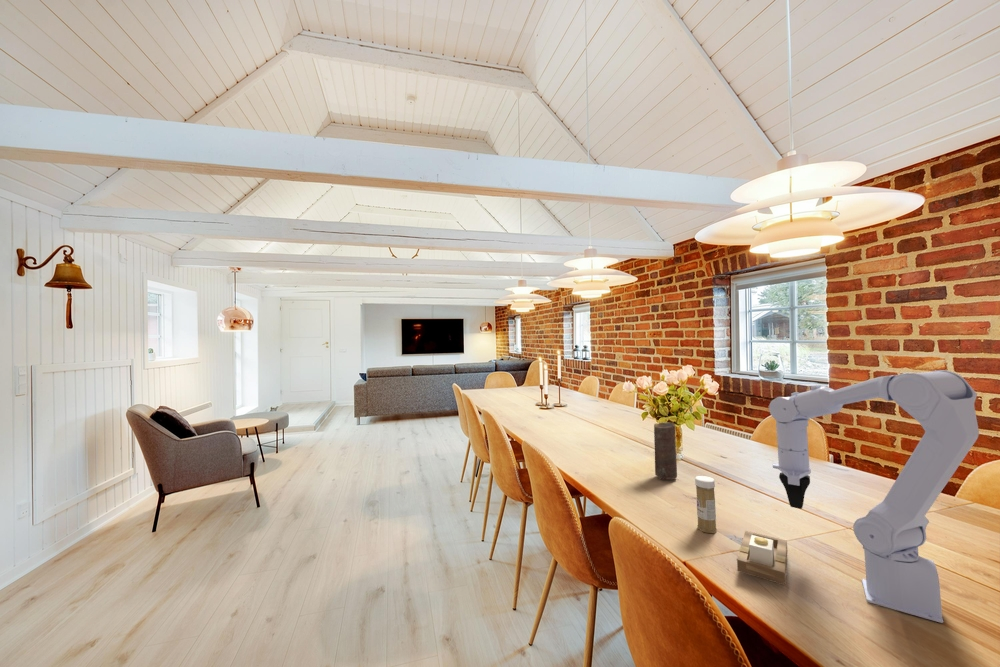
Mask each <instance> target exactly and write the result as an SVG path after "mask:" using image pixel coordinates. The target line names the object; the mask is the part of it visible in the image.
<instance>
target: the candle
mask: <svg viewBox="0 0 1000 667" xmlns="http://www.w3.org/2000/svg"><path fill="white" fill-rule="evenodd" d="M653 429H654V430H653V433H654V434H653V436H654V440H653V441H654V442H653V443H654V475H655V476H656V477H658V479H660V480H674V479H677V478H678V468H677V467H678V462H677V443H676V442H677V441H676V438H677V437H676V424H675V423H674V422H668V421H665V422H659V423H654V424H653Z"/></svg>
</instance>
